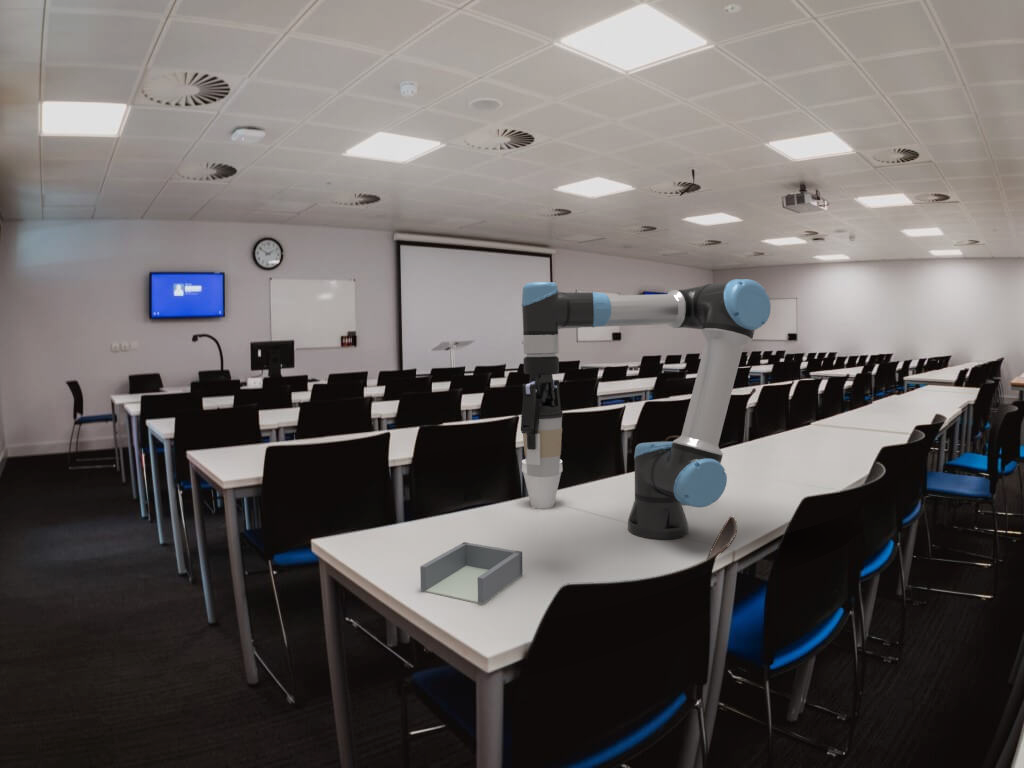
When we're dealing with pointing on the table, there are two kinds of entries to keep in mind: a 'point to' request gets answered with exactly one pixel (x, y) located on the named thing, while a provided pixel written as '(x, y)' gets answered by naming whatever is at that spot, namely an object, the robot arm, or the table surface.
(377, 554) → the table surface
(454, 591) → the u rest
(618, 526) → the table surface
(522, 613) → the table surface
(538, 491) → the cup
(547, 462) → the coffee cup
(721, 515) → the table surface
